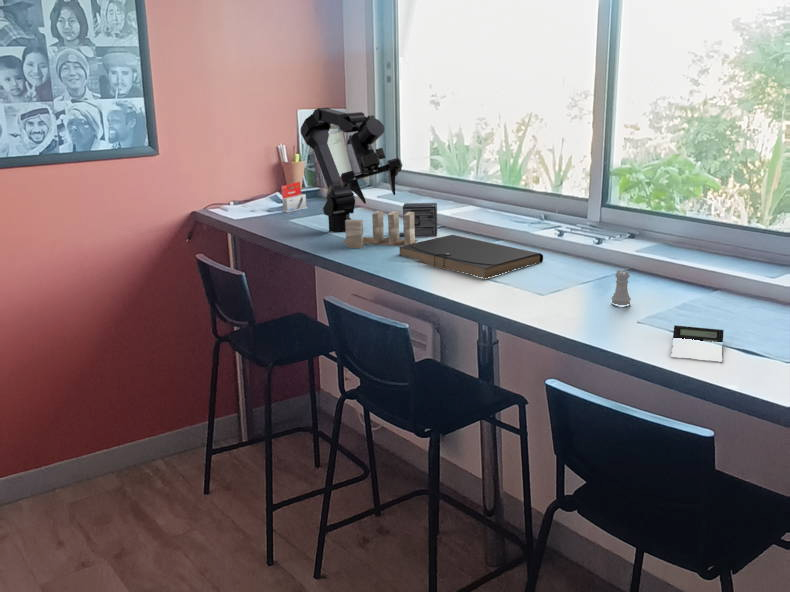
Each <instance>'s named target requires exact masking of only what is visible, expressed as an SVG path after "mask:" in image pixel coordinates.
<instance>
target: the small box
mask: <svg viewBox="0 0 790 592" xmlns="http://www.w3.org/2000/svg"><path fill="white" fill-rule="evenodd" d="M408 212H414V224H415V238H416V237H418V238H422V237H426V238H431V237H432V238H438V203H437V202H412V203H410V202H406V203H404V204H403V206H402V215H403V216H402V218H403V219H402V220H403V224H404V215H405V214H406V213H408Z"/></svg>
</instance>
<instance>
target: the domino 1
mask: <svg viewBox="0 0 790 592" xmlns="http://www.w3.org/2000/svg"><path fill="white" fill-rule="evenodd" d="M363 223H364V221H363V219H352V218H351V219H347V220H345V226H346V232H345V240H346V243H345V244H346V246H345V247H346V248H349V249H351V248H352V249H363V248H364V245H365V244H363V237H364V226H363V225H364V224H363Z"/></svg>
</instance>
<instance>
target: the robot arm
mask: <svg viewBox="0 0 790 592" xmlns="http://www.w3.org/2000/svg"><path fill="white" fill-rule="evenodd" d="M332 125H334V126H337V127H339V130H341V131H342V132H344V133H346V134H348V133H353V134H351V135H349V136H348V139H347V141H346V145H349V146H350V145H351V148H352V151H353V154H354V157H355V161H356V162H357V165H358V168H359V171H358V172H357V173H356V172H354V170H349V171H346V172H343V173H341V174H340V173H339V170H338V168H337V165H336V162H335V161H334V157H333V155H332V152H331V150H330V147H329V144H328V142H329V136H330V133H329V131H330V129H331V128H332ZM384 133H385V125H384V124H383V123H382V121H381V120H379V119H377V118H375V115H367V116H365V113H364V112H361V111H360V112H343V111H340V110H336V109H332V108H330V107H318V108H315V109H314V111H313V113H312V114H310V115H309V116H308V117H307V118H306V119H304V120H303V123H302V125H301V127H300V134H301V136H302V138H303V141H304V142H305V144H306V145H307V146H309V148H311V149H312V150H313V152H314V155H315V158H316V159H317V163H318V165H319V167H320V170H321V173H322V176H323V178H324V181H325V183H326V186H327V192H326V201H325V204H324V206H323V207H322V210H323V213H324V215H325V216H327V217H328V231H327V232H326V233H327V234H328V233H330V232H332V233H346V226H345V220H347V219H351V220H352V218H351V217H350V216H351V215H350V214H354V213H355V212H354V211H355V205H356V197H355V195H356V196H357V197H358V198H359V199H360V201H362V203H363V204H364V205H365V204H367V202H366V197H365V195H364V193H363V191H362V189H361V187H360V184H359V182H358V181H359V180H361V179H364V178H368V177H369V178H370V177H373V176H375V175H378V174H382V173H386V172H387V178H388V183H389V186H390V190H391V193H392V195H393V196H395V195H396V177H397V176H398V174H399V173H400V172H402V168H403V162H402V160H401V158H399V157H396V158H393V159H388V160H386V164H384V165H381V160H383V159H385V158H386V153H385V151H384V148H383V147H378V148H376V149H375V150H374V149H373V145H374V143H376V142H377V140H378V139H379V138H380V137H381V136H382V135H383V134H384ZM372 144H373V145H372ZM380 165H381V166H380Z"/></svg>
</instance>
